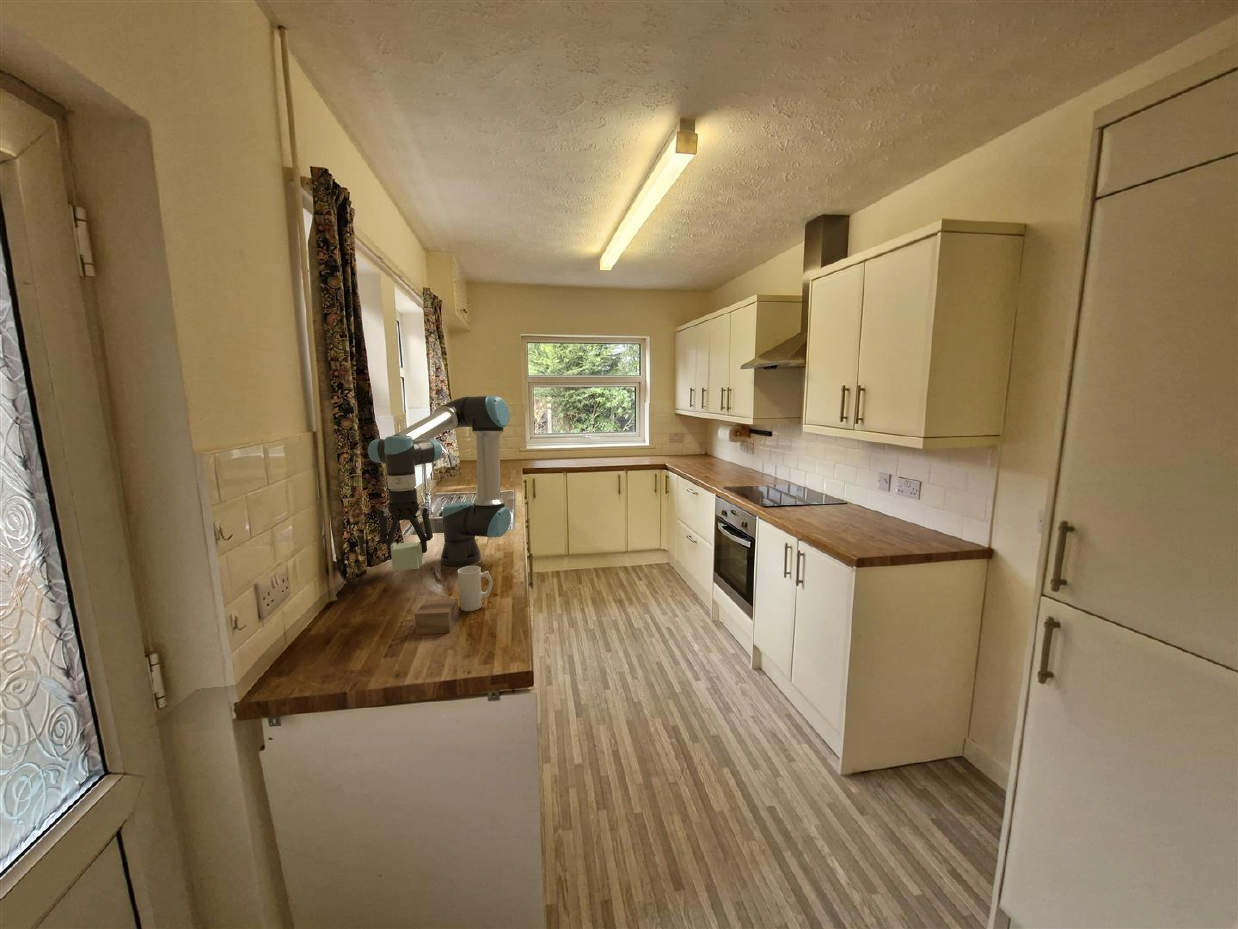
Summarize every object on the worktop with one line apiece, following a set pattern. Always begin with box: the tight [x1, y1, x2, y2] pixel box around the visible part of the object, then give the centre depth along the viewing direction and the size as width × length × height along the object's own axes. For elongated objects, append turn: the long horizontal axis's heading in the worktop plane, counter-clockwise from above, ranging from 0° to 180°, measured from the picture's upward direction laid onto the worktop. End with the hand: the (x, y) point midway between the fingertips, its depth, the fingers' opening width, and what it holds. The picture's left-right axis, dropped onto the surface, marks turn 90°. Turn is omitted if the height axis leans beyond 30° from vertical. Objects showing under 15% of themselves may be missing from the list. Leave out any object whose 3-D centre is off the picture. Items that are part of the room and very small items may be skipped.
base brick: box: [414, 598, 460, 635], centre depth 133 cm, size 9×9×6 cm
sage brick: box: [390, 541, 422, 571], centre depth 141 cm, size 7×7×6 cm
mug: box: [457, 565, 494, 612], centre depth 145 cm, size 10×7×12 cm, turn 103°
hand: (408, 564), depth 141 cm, fingers closed on sage brick, 7 cm apart
